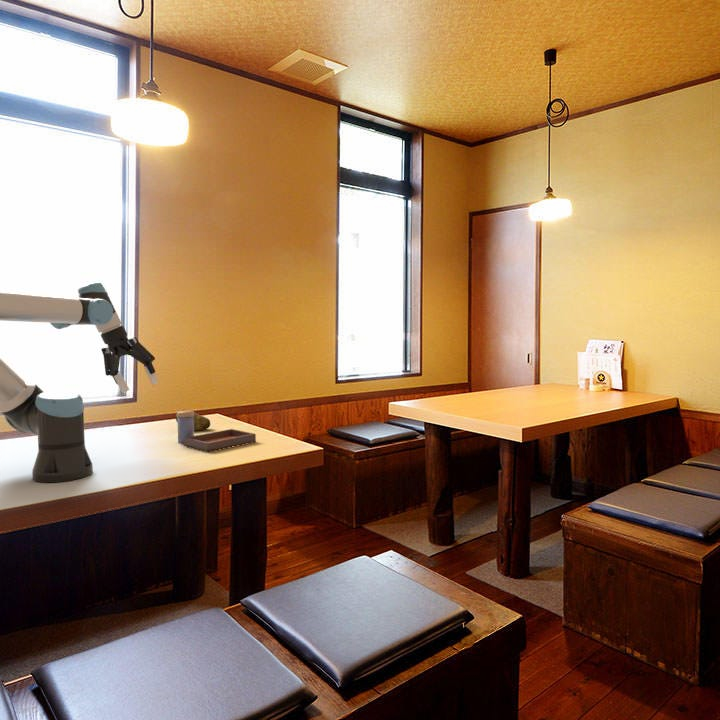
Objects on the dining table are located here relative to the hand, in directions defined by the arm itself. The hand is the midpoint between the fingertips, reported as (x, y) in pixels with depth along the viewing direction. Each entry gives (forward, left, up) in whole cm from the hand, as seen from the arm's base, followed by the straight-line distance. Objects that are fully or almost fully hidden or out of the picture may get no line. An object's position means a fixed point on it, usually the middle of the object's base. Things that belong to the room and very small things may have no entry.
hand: (140, 387), depth 190 cm
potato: (+30, +17, -21) cm, 40 cm away
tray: (+22, -13, -21) cm, 33 cm away
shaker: (+16, -1, -21) cm, 27 cm away
